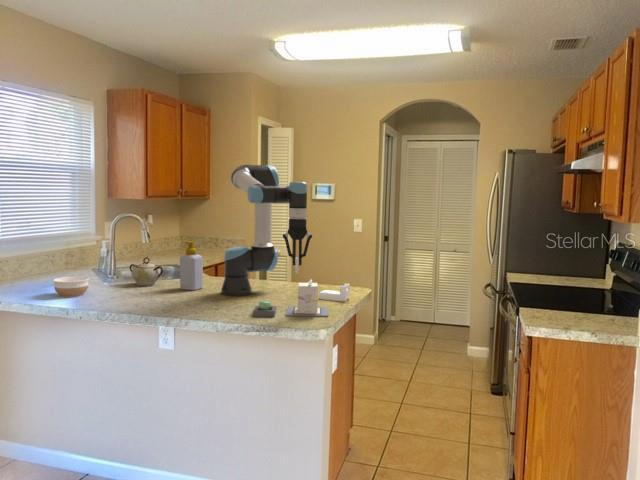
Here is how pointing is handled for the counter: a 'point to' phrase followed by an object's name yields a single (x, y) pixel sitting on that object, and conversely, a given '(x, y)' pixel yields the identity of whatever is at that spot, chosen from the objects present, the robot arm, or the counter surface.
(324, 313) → the clipboard
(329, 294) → the bracket
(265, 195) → the robot arm
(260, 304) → the button
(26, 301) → the counter surface
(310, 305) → the ink box
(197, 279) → the soap bottle
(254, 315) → the button housing
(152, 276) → the sugar bowl
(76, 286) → the bowl
